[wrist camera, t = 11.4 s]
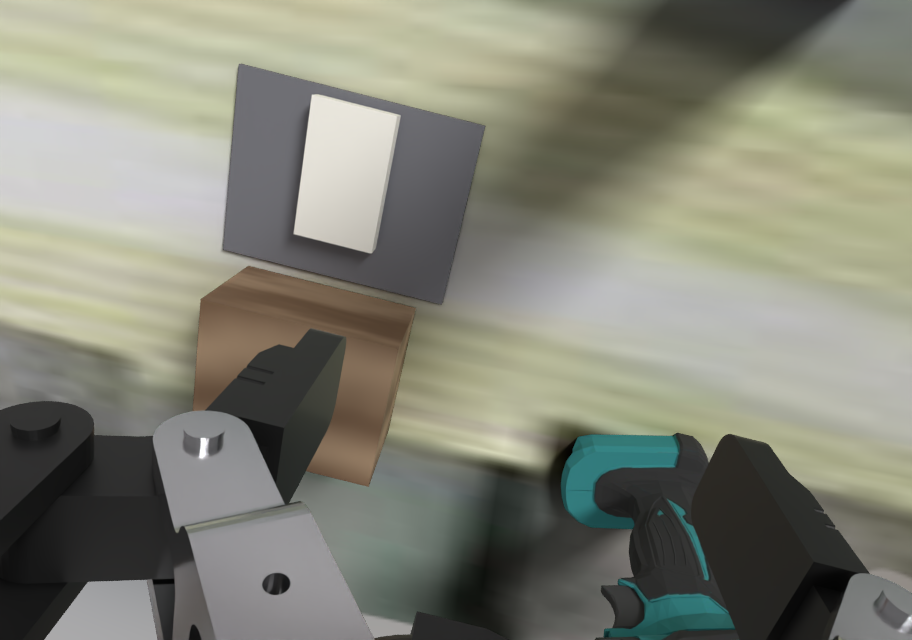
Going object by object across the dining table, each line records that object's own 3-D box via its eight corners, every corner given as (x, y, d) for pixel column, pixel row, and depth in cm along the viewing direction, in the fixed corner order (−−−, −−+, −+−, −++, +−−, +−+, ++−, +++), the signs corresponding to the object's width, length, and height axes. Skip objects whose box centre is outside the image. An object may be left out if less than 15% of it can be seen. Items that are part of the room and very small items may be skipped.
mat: (241, 63, 43) (238, 63, 42) (485, 125, 43) (484, 126, 42) (225, 248, 48) (223, 249, 48) (442, 302, 48) (441, 304, 48)
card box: (293, 233, 45) (302, 227, 46) (371, 253, 45) (377, 246, 46) (311, 94, 41) (320, 94, 43) (397, 116, 41) (402, 114, 43)
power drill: (464, 511, 56) (430, 817, 33) (461, 428, 52) (421, 703, 29) (755, 521, 53) (943, 858, 30) (772, 434, 50) (996, 739, 27)
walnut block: (248, 265, 48) (200, 299, 41) (415, 308, 48) (398, 349, 41) (235, 391, 53) (190, 442, 46) (388, 430, 53) (368, 486, 46)
